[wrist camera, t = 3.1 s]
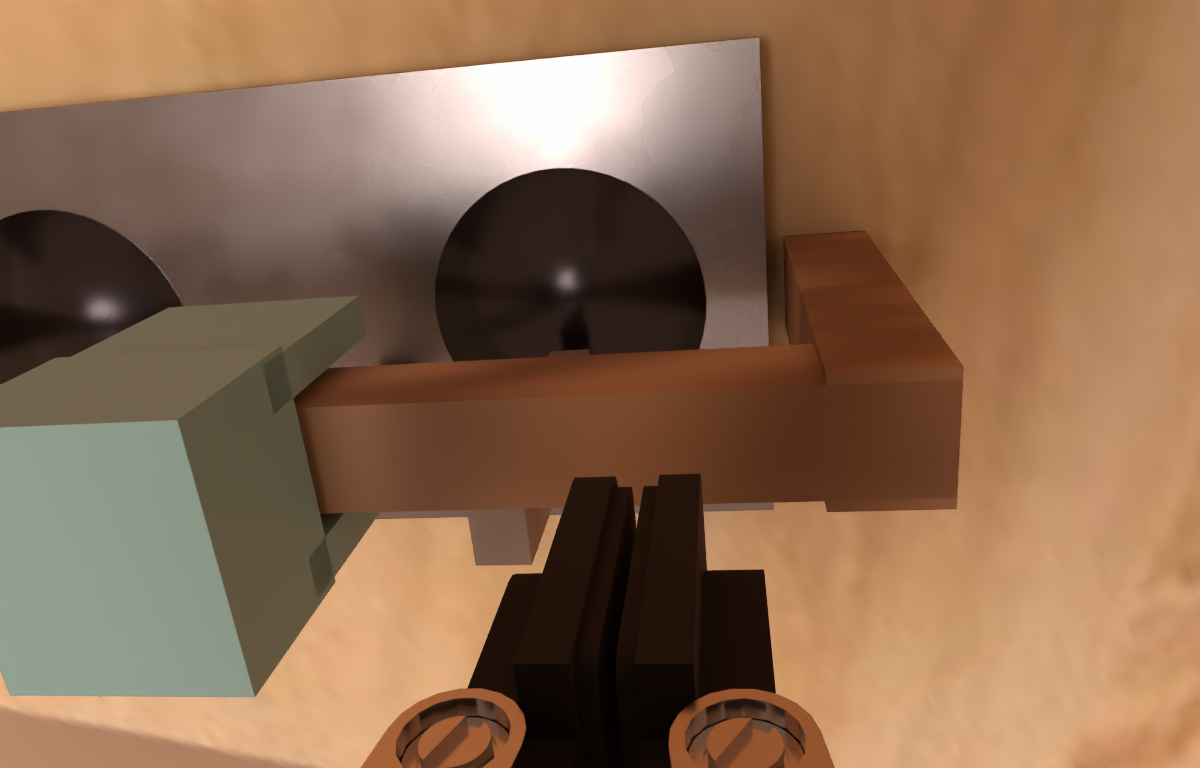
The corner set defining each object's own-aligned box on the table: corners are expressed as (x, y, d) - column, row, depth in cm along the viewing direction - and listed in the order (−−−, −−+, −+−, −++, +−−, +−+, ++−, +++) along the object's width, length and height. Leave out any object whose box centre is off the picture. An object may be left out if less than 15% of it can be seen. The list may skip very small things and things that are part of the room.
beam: (864, 230, 23) (963, 366, 14) (863, 354, 24) (954, 558, 15) (-138, 297, 27) (-583, 436, 18) (-98, 400, 28) (-497, 580, 19)
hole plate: (757, 36, 21) (759, 37, 20) (771, 488, 26) (773, 510, 25) (-125, 124, 25) (-167, 129, 24) (14, 509, 29) (-16, 529, 28)
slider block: (436, 234, 22) (176, 420, 12) (462, 398, 24) (255, 697, 13) (284, 244, 23) (-94, 431, 12) (320, 405, 25) (10, 695, 14)
